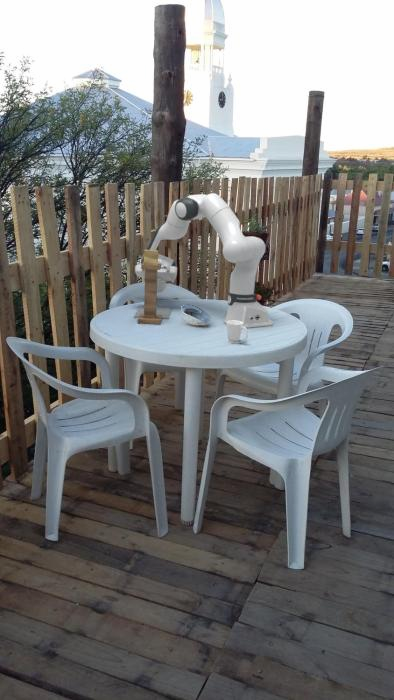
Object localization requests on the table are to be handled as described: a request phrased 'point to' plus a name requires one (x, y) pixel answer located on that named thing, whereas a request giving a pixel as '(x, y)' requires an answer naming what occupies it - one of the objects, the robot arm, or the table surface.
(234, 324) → the cup
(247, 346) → the table surface
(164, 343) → the table surface
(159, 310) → the rubber mat
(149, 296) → the walnut stand
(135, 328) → the table surface
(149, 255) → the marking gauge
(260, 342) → the table surface
